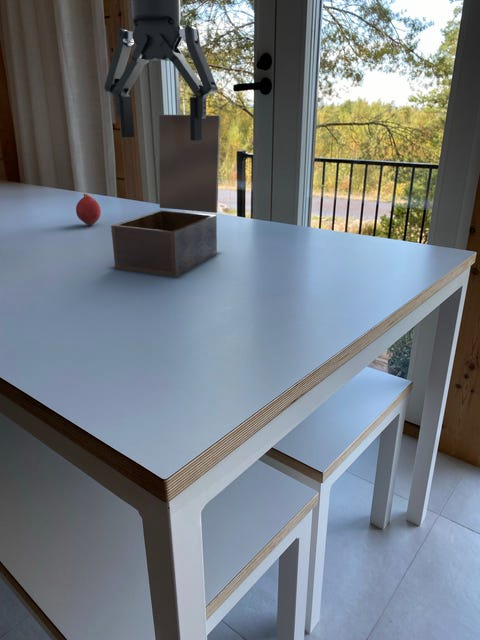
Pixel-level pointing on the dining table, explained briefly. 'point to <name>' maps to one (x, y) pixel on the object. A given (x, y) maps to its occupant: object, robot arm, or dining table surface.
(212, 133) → the chest lid
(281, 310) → the dining table surface
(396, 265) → the dining table surface
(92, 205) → the onion
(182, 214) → the chest
